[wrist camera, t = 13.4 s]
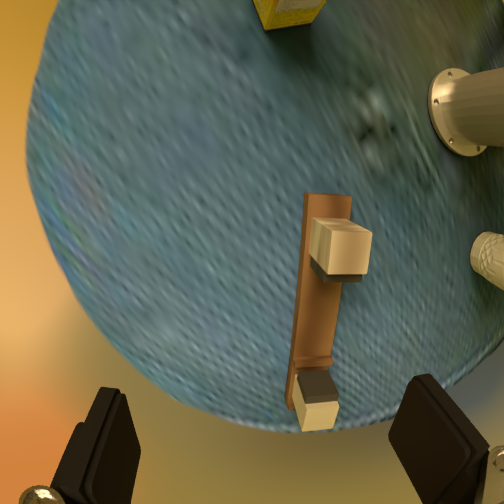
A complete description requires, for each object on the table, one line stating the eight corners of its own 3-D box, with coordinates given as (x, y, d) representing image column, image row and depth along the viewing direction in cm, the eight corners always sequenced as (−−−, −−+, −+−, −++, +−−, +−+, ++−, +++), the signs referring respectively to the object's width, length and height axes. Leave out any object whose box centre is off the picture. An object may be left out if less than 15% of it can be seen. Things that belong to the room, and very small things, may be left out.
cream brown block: (325, 365, 40) (341, 399, 33) (319, 394, 41) (332, 428, 35) (296, 367, 40) (308, 402, 33) (291, 396, 41) (301, 431, 34)
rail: (345, 195, 36) (379, 206, 27) (317, 394, 44) (333, 436, 35) (304, 192, 35) (329, 202, 27) (284, 397, 43) (295, 441, 35)
